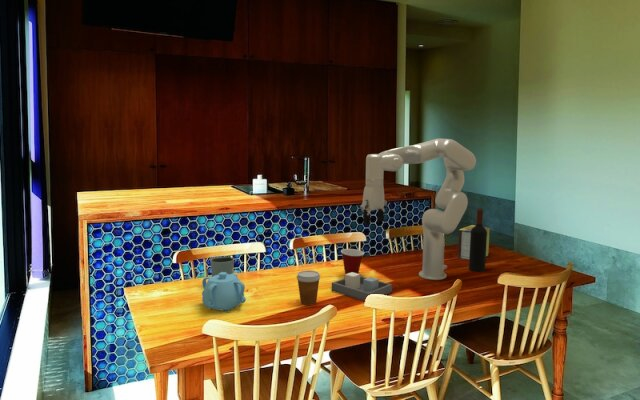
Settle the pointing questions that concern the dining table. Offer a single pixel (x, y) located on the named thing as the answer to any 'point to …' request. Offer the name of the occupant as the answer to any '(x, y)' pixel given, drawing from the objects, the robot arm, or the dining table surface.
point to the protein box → (468, 242)
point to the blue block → (370, 284)
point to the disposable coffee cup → (308, 286)
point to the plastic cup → (352, 260)
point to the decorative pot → (223, 292)
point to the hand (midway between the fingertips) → (373, 222)
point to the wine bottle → (478, 245)
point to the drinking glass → (222, 265)
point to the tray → (360, 289)
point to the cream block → (352, 280)
